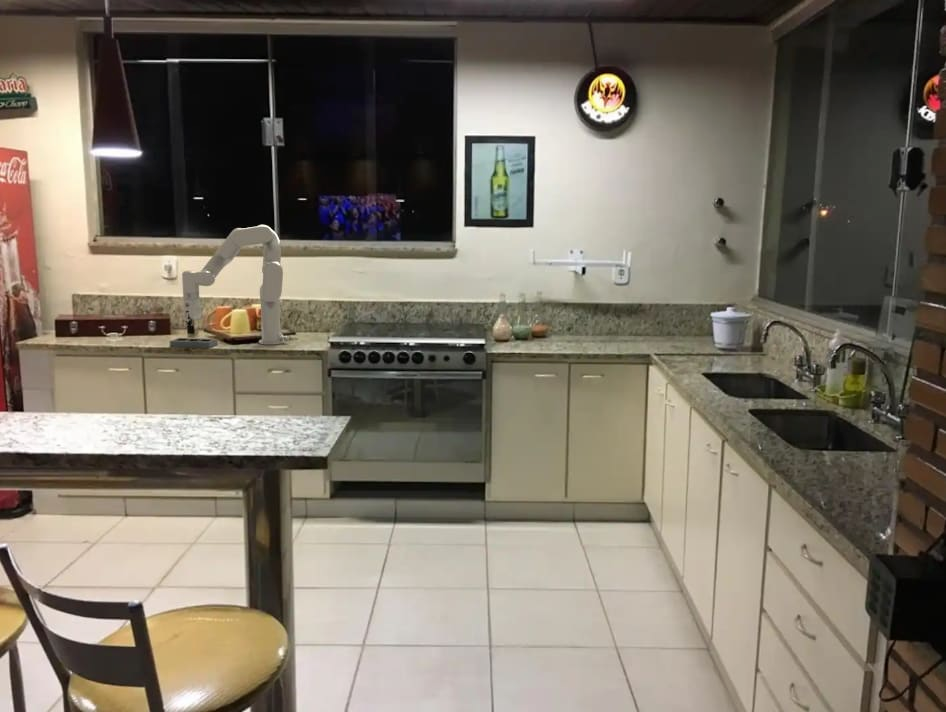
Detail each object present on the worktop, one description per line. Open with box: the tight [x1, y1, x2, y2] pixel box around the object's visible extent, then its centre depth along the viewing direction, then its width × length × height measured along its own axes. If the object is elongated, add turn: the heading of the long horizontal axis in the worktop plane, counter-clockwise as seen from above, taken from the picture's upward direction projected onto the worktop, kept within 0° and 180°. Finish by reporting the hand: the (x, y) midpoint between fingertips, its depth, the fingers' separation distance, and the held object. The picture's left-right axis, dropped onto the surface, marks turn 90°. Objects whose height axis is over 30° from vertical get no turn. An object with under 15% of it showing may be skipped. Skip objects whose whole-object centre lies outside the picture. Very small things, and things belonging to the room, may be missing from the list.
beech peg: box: [186, 318, 200, 338], centre depth 381 cm, size 4×4×10 cm
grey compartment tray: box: [169, 337, 219, 349], centre depth 383 cm, size 20×10×3 cm, turn 85°
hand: (193, 332), depth 382 cm, fingers closed on beech peg, 4 cm apart
